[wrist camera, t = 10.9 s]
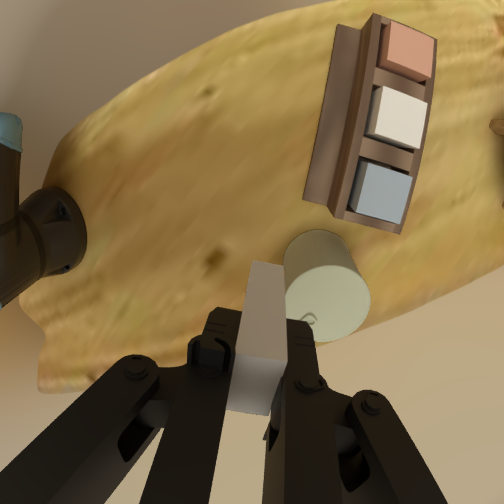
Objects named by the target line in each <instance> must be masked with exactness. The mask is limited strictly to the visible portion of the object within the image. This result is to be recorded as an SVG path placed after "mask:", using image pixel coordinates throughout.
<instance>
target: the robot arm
mask: <svg viewBox="0 0 504 504" xmlns="http://www.w3.org/2000/svg"><path fill="white" fill-rule="evenodd" d="M22 128H23V127H22V122H21V119H20V118H19V117H18V116H16V115H14V114H9V113H3V112H0V310H1V309H2V308H3V307H4V306H5V305H6V304H8V303H9V302H10V301H11V300H13V299H14V298H15V297H17V296H18V295H19V294H20V293H22V292H23V291H24V290H26V289H27V288H28V287H30V286H31V285H32V284H34V283H35V282H36V281H38V280H39V279H41V278H44V277H49V276H55V275H60V274H64V273H67V272H69V271H70V270H72V269H73V268H74V267H76V266H77V265H78V264H79V263H80V262H81V260H82V258H83V256H84V253H85V250H86V228H85V224H84V220H83V217H82V214H81V212H80V210H79V208H78V206H77V204H76V203H75V201H74V200H73V199H72V198H71V197H70V195H68V194H67V193H66V192H65V191H63V190H62V189H60V188H57V187H46V188H43V189H40V190H37V191H35V192H34V193H32V194H31V195H30V196H29V197H28V198H27V199H26V200H24V201H23V202H22V203H21V204H20V205H19V175H20V160H21V153H22V148H21V142H22ZM225 410H231V411H237V412H243V413H249V414H256V415H263V416H268V415H269V413H270V410H271V419H270V422H269V424H268V427H267V430H266V432H265V434H264V437H263V440H266V454H265V470H264V483H263V496H262V504H448V503H447V501H446V499H445V497H444V495H443V494H442V492H441V490H440V488H439V486H438V485H437V483H436V481H435V479H434V477H433V475H432V474H431V472H430V470H429V468H428V467H427V465H426V463H425V461H424V460H423V458H422V456H421V455H420V453H419V451H418V449H417V448H416V446H415V444H414V442H413V441H412V439H411V437H410V436H409V434H408V432H407V431H406V429H405V427H404V425H403V424H402V422H401V420H400V419H399V417H398V415H397V414H396V412H395V411H394V409H393V407H392V406H391V404H390V402H389V401H388V400H387V399H386V397H385V396H383V395H382V394H380V393H379V392H376V391H372V390H362V391H359V392H357V393H356V394H355V395H354V396H353V397H350V396H347V395H344V394H341V393H338V392H336V391H333V390H332V389H330V388H329V387H328V385H327V383H326V380H325V379H324V378H323V377H322V376H321V375H320V374H319V368H318V361H317V354H316V348H315V341H314V335H313V330H312V328H311V327H310V325H309V324H308V323H307V321H301V320H295V319H288V318H286V305H285V284H284V266H283V265H277V264H272V263H266V262H261V261H255V260H252V264H251V269H250V274H249V280H248V285H247V290H246V295H245V300H244V306H243V311H237V310H231V309H226V308H221V307H217V308H215V309H214V310H213V311H211V312H210V313H209V316H208V319H207V321H206V324H205V327H204V330H203V332H202V335H198V336H196V337H194V338H192V339H191V340H190V342H189V343H188V351H187V363H186V364H184V365H182V366H179V367H158V366H157V364H156V362H155V361H153V360H152V359H151V358H149V357H146V356H143V355H134V354H132V355H128V356H124V357H123V358H121V359H120V360H118V361H117V362H116V363H115V364H114V365H113V366H112V367H111V368H110V369H108V370H107V371H106V372H105V373H104V374H103V375H102V376H101V377H100V378H99V379H98V380H97V381H96V382H94V383H93V384H92V385H91V386H90V387H89V388H88V389H87V390H86V391H85V392H84V393H83V394H82V395H81V396H80V397H78V398H77V399H76V400H75V401H74V402H73V403H72V404H71V405H70V406H69V407H68V408H67V409H66V410H65V411H64V412H63V413H62V414H61V415H59V416H58V417H57V418H56V419H55V420H54V421H53V422H52V423H51V424H50V425H49V426H48V427H47V428H46V429H45V430H44V431H43V432H41V433H40V434H39V435H38V436H37V437H36V438H35V439H34V440H33V441H32V442H31V443H30V444H29V445H28V446H27V447H26V448H25V449H24V450H23V451H22V452H21V453H20V454H19V455H18V456H16V457H15V458H14V459H13V460H12V461H11V462H10V463H9V464H8V466H6V467H5V468H4V469H3V470H2V471H1V472H0V504H104V503H105V502H106V501H107V499H108V498H109V497H110V495H111V494H112V493H113V492H114V490H115V489H116V488H117V486H118V485H119V484H120V483H121V481H122V480H123V479H124V477H125V476H126V475H127V473H128V472H129V471H130V470H131V468H132V467H133V466H134V464H135V463H136V462H137V460H138V459H139V458H140V456H141V455H142V454H143V452H144V451H145V450H146V448H147V447H148V446H149V444H150V443H151V442H152V440H153V439H154V438H155V436H156V435H157V433H158V432H159V431H160V429H161V428H164V431H163V434H162V437H161V440H160V442H159V445H158V448H157V451H156V454H155V457H154V461H153V464H152V466H151V469H150V472H149V475H148V478H147V481H146V484H145V488H144V490H143V493H142V496H141V500H140V503H139V504H208V503H209V498H210V492H211V487H212V481H213V476H214V471H215V465H216V460H217V454H218V449H219V443H220V438H221V432H222V427H223V421H224V416H225Z"/></svg>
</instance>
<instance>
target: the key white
mask: <svg viewBox="0 0 504 504" xmlns="http://www.w3.org/2000/svg"><path fill="white" fill-rule="evenodd" d="M427 104H428V103H426V102H423V101H421V100H419V99H416V98H414V97H411V96H409V95H407V94H404V93H401V92H399V91H396V90H394V89H391V88H388V87H385V86H382V87H380V88H378V89H377V90H375V91H373V92H371V98H370V103H369V109H368V114H367V119H366V124H365V129H364V134H363V136H365V137H368V138H371V139H374V140H378V141H381V142H384V143H387V144H390V145H392V146H395V147H404V148H415V149H419V148H420V143H421V138H422V133H423V128H424V122H425V116H426V110H427Z"/></svg>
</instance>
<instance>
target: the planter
mask: <svg viewBox="0 0 504 504" xmlns="http://www.w3.org/2000/svg"><path fill="white" fill-rule="evenodd" d="M489 127H490V128H491V129H492V130H493V131H494V132H495V133H496V134H500V135H504V120H491V123H490V126H489ZM502 207H503V208H504V203H503V205H502Z"/></svg>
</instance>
